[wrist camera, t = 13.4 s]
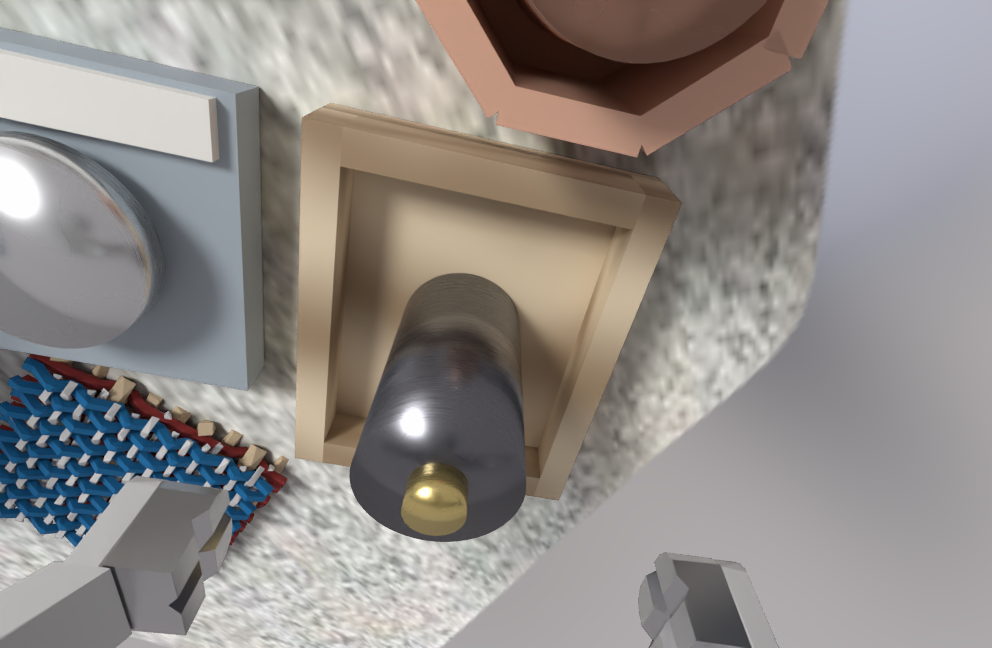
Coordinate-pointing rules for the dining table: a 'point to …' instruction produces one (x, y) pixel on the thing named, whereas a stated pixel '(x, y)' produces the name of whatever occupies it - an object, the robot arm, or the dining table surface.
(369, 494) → the cell
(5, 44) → the base
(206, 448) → the woven mat
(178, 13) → the dining table surface
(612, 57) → the cell
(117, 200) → the silver metal disc
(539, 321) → the trough
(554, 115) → the cup
